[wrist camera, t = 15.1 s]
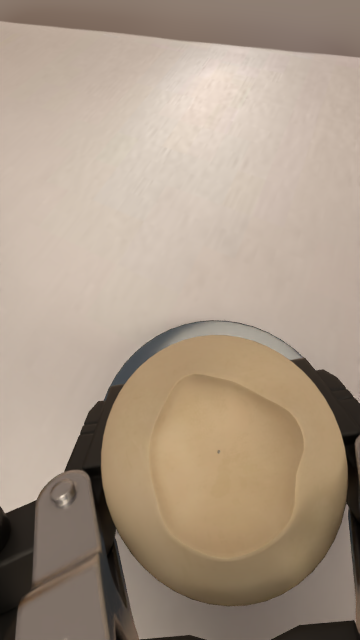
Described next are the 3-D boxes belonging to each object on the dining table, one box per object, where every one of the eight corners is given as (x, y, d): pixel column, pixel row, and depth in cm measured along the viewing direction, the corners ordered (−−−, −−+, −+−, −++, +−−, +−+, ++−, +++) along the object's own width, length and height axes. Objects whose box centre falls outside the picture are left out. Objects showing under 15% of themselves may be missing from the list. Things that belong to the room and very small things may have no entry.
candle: (151, 402, 15) (54, 357, 6) (248, 371, 15) (298, 281, 6) (179, 519, 13) (98, 717, 4) (292, 483, 13) (465, 601, 4)
